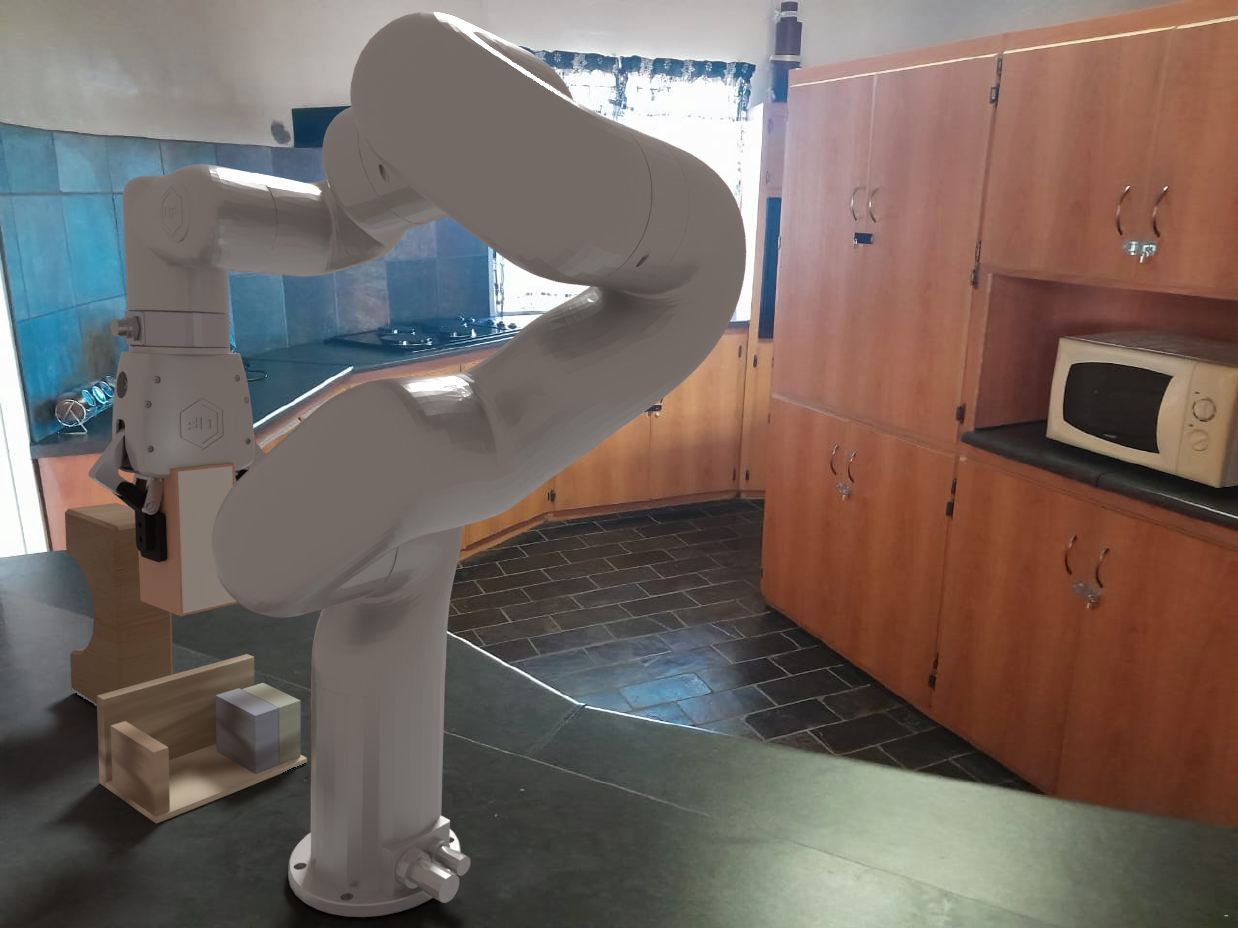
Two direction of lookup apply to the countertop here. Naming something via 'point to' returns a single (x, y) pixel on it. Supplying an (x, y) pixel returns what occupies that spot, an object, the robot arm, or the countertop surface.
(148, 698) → the shelf
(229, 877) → the countertop surface
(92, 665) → the decorative block
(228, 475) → the tall pink rectangular prism
